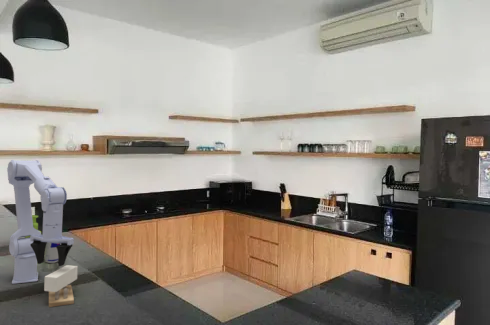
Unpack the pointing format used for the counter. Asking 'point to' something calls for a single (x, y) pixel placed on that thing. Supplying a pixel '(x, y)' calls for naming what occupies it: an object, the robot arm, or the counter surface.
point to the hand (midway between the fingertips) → (51, 264)
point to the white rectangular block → (60, 278)
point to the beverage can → (51, 252)
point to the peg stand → (61, 297)
